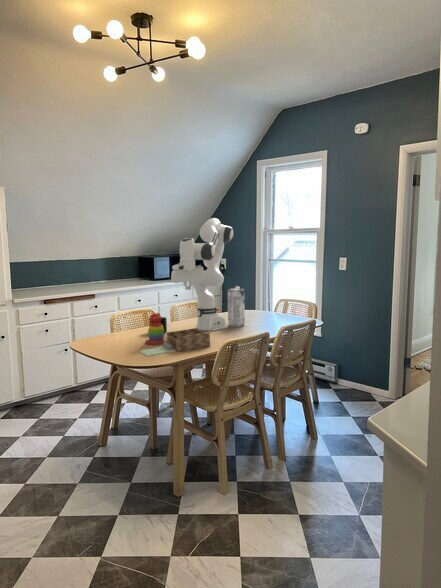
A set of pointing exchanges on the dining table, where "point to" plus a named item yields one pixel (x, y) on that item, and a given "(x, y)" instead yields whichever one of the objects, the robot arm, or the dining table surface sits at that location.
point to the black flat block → (164, 323)
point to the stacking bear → (155, 330)
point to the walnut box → (188, 339)
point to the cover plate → (158, 350)
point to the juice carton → (236, 307)
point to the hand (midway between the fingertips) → (188, 289)
